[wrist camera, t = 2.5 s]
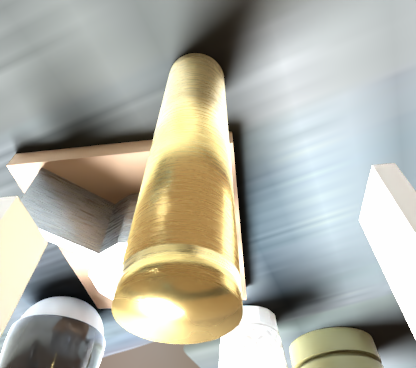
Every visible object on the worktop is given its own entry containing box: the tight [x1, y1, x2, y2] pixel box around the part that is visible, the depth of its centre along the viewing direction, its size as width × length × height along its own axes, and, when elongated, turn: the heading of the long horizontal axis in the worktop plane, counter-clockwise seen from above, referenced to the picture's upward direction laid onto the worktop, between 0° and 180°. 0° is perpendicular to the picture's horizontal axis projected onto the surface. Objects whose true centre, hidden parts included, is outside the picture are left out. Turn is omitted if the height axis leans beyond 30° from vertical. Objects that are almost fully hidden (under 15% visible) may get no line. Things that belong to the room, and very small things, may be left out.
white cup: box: [219, 306, 288, 368], centre depth 37 cm, size 8×8×10 cm
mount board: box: [6, 132, 247, 309], centre depth 30 cm, size 20×16×2 cm
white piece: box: [20, 167, 139, 300], centre depth 27 cm, size 18×12×5 cm, turn 7°
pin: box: [111, 53, 243, 344], centre depth 15 cm, size 4×4×16 cm
